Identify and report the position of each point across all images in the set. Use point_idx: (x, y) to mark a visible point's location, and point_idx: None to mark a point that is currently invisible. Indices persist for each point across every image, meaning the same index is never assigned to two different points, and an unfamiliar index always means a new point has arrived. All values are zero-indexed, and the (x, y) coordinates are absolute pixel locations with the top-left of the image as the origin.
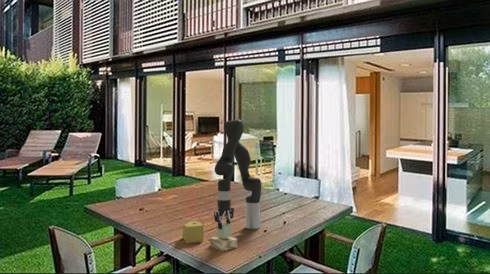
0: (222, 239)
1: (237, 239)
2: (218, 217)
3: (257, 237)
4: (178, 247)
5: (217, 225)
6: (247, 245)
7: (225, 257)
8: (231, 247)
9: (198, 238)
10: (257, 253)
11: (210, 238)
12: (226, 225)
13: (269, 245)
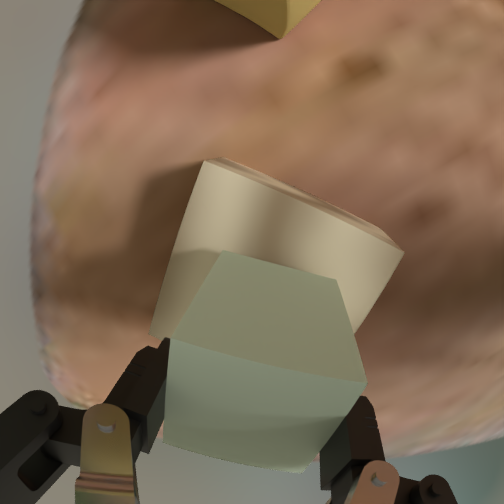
0: None
1: None
2: (24, 497)
3: (499, 355)
4: (86, 8)
5: (177, 326)
6: None
7: (120, 355)
8: None
9: (244, 5)
10: None
11: (205, 161)
12: (214, 454)
13: (392, 445)
